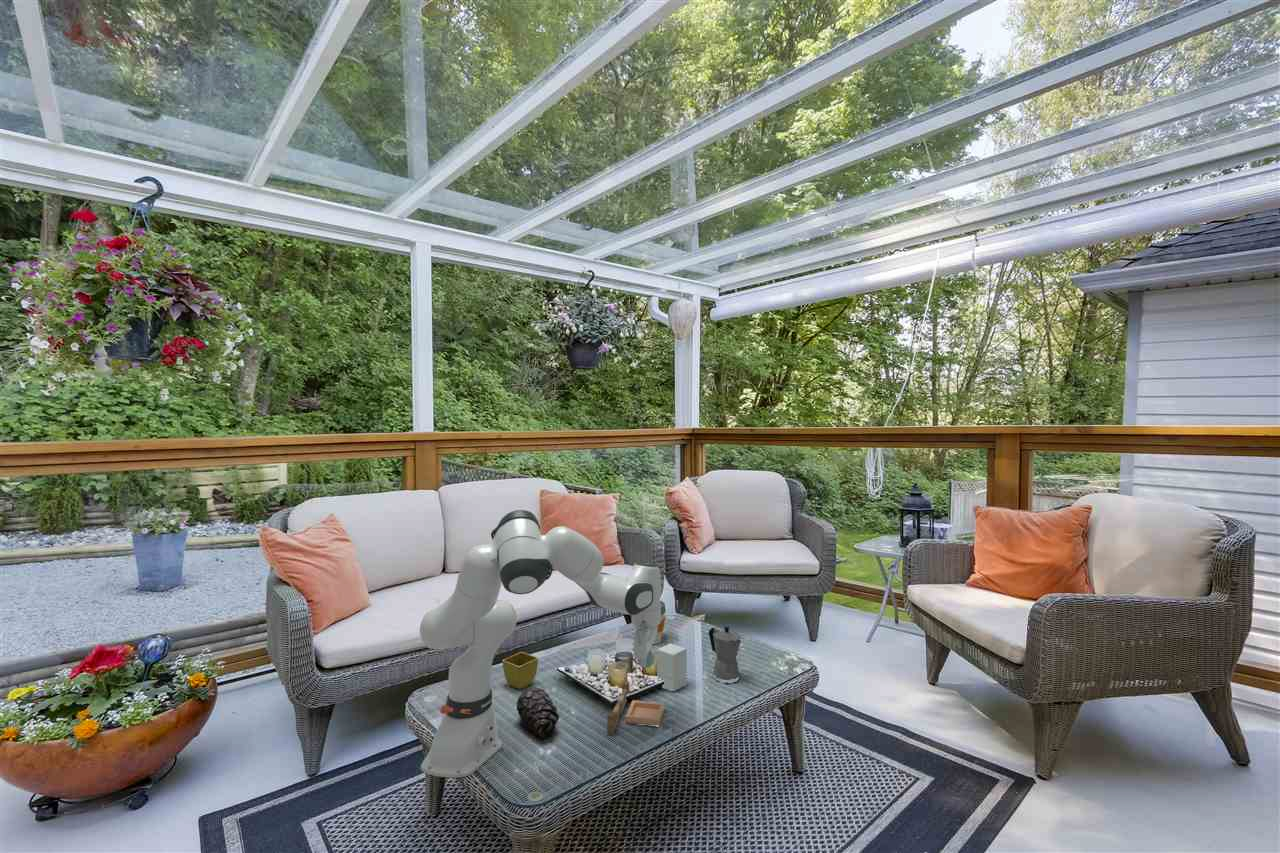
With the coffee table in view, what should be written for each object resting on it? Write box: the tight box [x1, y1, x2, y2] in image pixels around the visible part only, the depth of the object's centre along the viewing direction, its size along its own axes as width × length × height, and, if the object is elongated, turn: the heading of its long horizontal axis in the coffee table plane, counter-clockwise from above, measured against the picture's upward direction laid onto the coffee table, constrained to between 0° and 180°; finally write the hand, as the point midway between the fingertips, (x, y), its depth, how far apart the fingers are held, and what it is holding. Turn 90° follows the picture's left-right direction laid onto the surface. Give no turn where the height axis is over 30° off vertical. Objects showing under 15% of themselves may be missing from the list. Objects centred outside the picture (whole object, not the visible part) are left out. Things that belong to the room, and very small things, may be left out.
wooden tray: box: [625, 699, 665, 725], centre depth 179 cm, size 10×10×2 cm
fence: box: [606, 681, 630, 736], centre depth 179 cm, size 22×2×6 cm, turn 169°
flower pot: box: [501, 651, 539, 690], centre depth 199 cm, size 9×9×9 cm
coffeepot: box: [708, 626, 742, 680], centre depth 206 cm, size 15×9×18 cm, turn 36°
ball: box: [637, 650, 655, 669], centre depth 178 cm, size 5×5×5 cm
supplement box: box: [656, 643, 687, 692], centre depth 199 cm, size 7×7×13 cm
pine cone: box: [516, 687, 560, 744], centre depth 172 cm, size 10×18×10 cm, turn 38°
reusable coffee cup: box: [635, 600, 667, 644], centre depth 238 cm, size 13×13×15 cm
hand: (645, 661), depth 178 cm, fingers closed on ball, 5 cm apart
